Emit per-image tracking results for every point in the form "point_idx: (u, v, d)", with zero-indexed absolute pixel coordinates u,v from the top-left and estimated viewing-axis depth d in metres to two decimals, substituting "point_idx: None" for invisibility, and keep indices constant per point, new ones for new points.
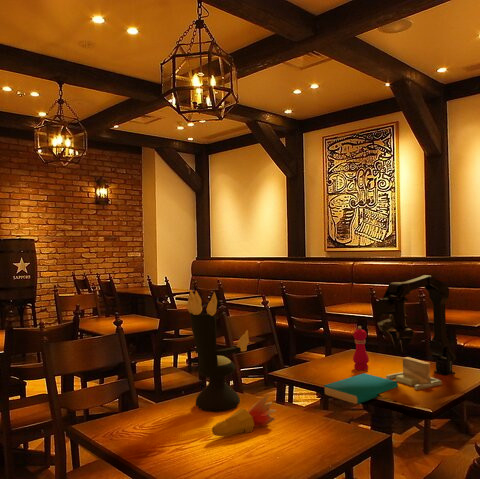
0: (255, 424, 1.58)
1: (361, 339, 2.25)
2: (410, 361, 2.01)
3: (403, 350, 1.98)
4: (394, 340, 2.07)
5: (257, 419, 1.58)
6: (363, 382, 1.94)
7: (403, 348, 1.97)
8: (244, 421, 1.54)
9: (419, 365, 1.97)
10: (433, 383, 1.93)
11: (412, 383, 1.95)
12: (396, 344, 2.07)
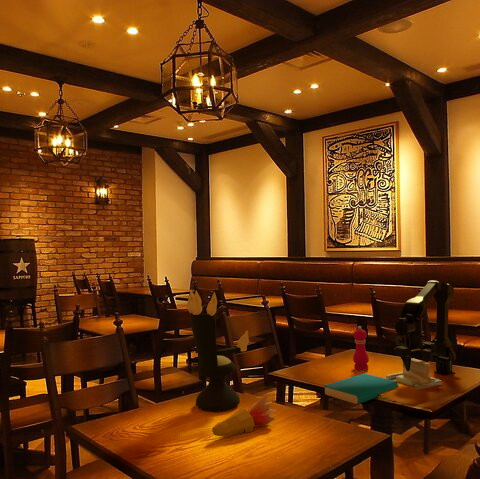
0: (255, 424, 1.58)
1: (361, 339, 2.25)
2: None
3: (406, 368, 1.98)
4: (423, 360, 2.03)
5: (257, 419, 1.58)
6: (363, 382, 1.94)
7: (406, 366, 1.98)
8: (244, 421, 1.54)
9: (419, 365, 1.97)
10: (433, 383, 1.93)
11: (412, 383, 1.94)
12: None
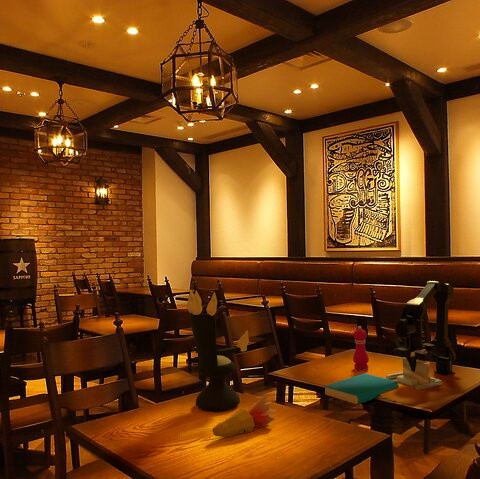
0: (255, 424, 1.58)
1: (361, 339, 2.25)
2: None
3: (411, 369, 2.00)
4: None
5: (257, 419, 1.58)
6: (363, 382, 1.94)
7: (411, 367, 2.00)
8: (244, 421, 1.54)
9: (419, 365, 1.97)
10: (433, 383, 1.93)
11: (412, 383, 1.94)
12: None
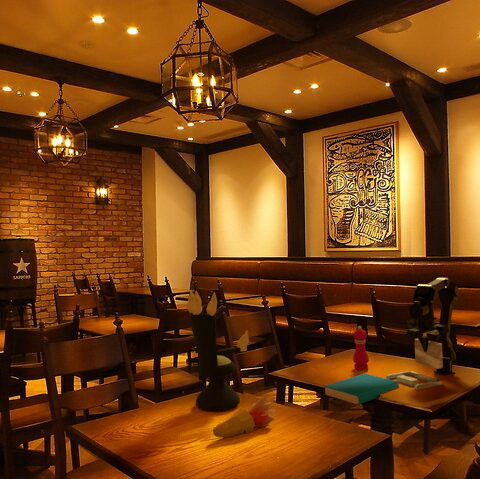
0: (255, 424, 1.58)
1: (361, 339, 2.25)
2: None
3: (423, 349, 2.03)
4: None
5: (258, 420, 1.58)
6: (364, 382, 1.94)
7: (423, 348, 2.03)
8: (244, 422, 1.54)
9: (431, 346, 2.00)
10: (433, 383, 1.93)
11: (412, 383, 1.94)
12: None
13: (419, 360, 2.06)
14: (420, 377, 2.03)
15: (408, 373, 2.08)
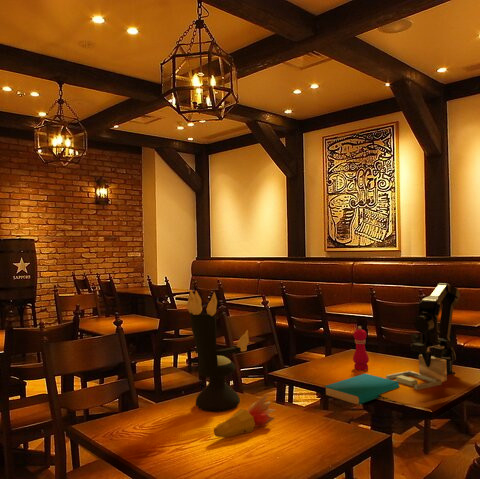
0: (255, 424, 1.58)
1: (361, 339, 2.25)
2: None
3: (426, 364, 2.03)
4: None
5: (258, 419, 1.58)
6: (364, 382, 1.94)
7: (426, 362, 2.03)
8: (245, 421, 1.54)
9: (435, 362, 2.00)
10: (433, 383, 1.93)
11: (412, 384, 1.94)
12: None
13: None
14: (420, 377, 2.03)
15: (408, 373, 2.08)
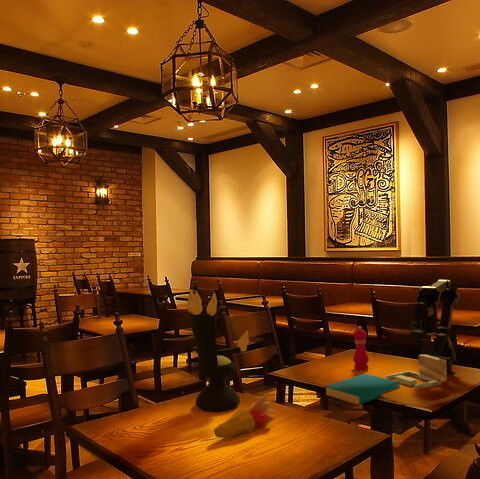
0: (255, 424, 1.58)
1: (361, 339, 2.25)
2: (426, 358, 2.05)
3: (422, 352, 2.02)
4: (438, 344, 2.06)
5: (258, 419, 1.58)
6: (365, 382, 1.93)
7: (422, 350, 2.02)
8: (245, 422, 1.54)
9: (435, 362, 2.00)
10: (433, 383, 1.93)
11: (411, 384, 1.94)
12: (439, 348, 2.06)
13: None
14: (420, 377, 2.03)
15: (408, 373, 2.08)
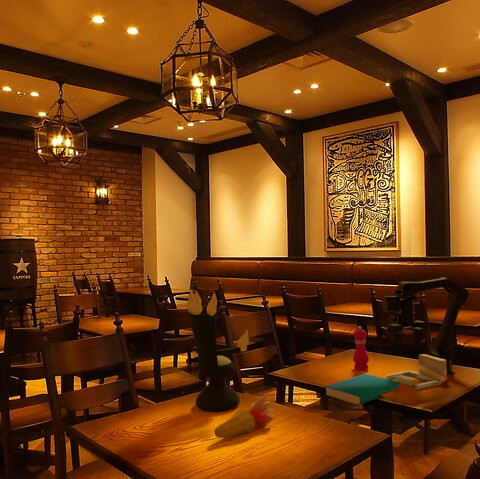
0: (255, 424, 1.58)
1: (361, 339, 2.25)
2: (426, 358, 2.05)
3: (398, 345, 2.11)
4: (414, 337, 2.15)
5: (258, 419, 1.58)
6: (365, 383, 1.93)
7: (398, 343, 2.11)
8: (245, 422, 1.54)
9: (435, 362, 2.00)
10: (433, 383, 1.93)
11: (411, 383, 1.94)
12: (415, 341, 2.15)
13: None
14: (420, 377, 2.03)
15: (408, 373, 2.08)
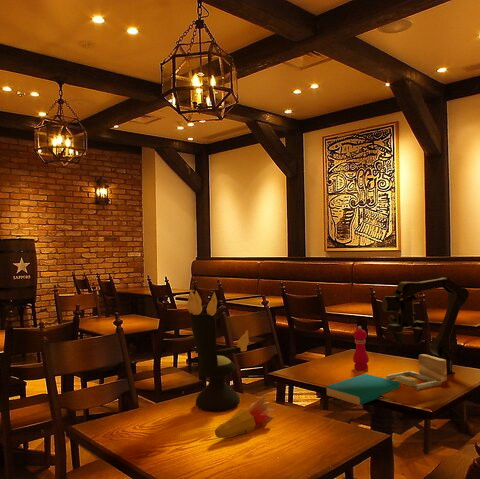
0: (255, 424, 1.58)
1: (361, 339, 2.25)
2: (426, 358, 2.05)
3: (398, 345, 2.11)
4: (414, 337, 2.15)
5: (258, 419, 1.58)
6: (365, 383, 1.93)
7: (398, 343, 2.11)
8: (245, 422, 1.54)
9: (435, 362, 2.00)
10: (433, 383, 1.93)
11: (411, 384, 1.94)
12: (415, 341, 2.15)
13: None
14: (420, 377, 2.03)
15: (408, 373, 2.08)
